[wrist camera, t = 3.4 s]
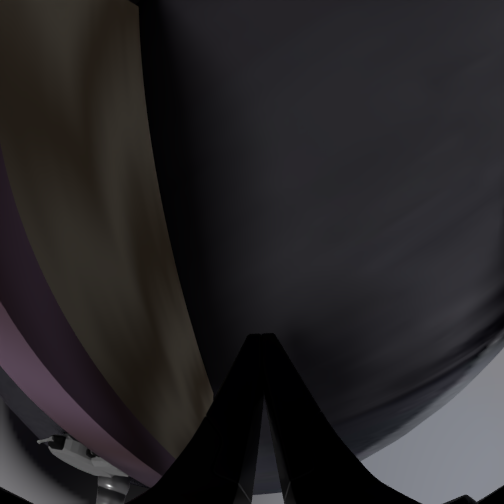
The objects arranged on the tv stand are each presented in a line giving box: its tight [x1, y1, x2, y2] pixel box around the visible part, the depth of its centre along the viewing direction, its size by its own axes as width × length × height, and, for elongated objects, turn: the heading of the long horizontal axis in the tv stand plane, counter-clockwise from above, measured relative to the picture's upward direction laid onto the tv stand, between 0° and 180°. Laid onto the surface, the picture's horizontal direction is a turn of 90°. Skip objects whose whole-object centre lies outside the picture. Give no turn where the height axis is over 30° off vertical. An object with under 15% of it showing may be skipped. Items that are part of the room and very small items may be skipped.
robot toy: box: [38, 433, 129, 478], centre depth 27 cm, size 12×4×15 cm
